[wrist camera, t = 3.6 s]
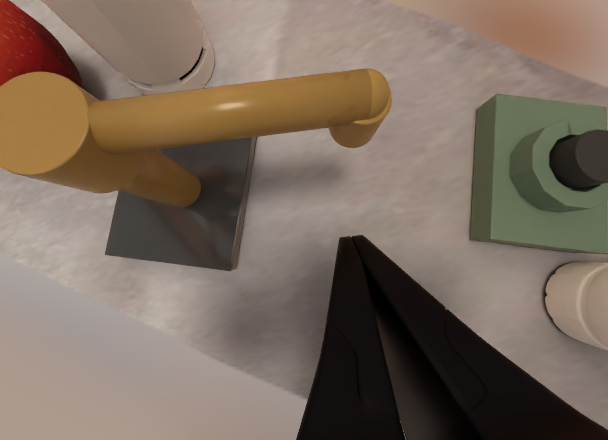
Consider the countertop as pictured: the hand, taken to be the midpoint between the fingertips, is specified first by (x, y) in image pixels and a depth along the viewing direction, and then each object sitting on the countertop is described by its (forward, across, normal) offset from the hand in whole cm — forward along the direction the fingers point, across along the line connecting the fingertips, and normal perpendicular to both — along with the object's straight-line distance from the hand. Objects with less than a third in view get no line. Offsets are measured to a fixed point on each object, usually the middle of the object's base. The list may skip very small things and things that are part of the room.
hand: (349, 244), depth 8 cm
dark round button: (+8, -18, +3) cm, 20 cm away
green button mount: (+11, -18, +5) cm, 22 cm away
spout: (+6, +5, -2) cm, 8 cm away
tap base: (+12, +11, +4) cm, 17 cm away
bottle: (+21, +12, -5) cm, 25 cm away
